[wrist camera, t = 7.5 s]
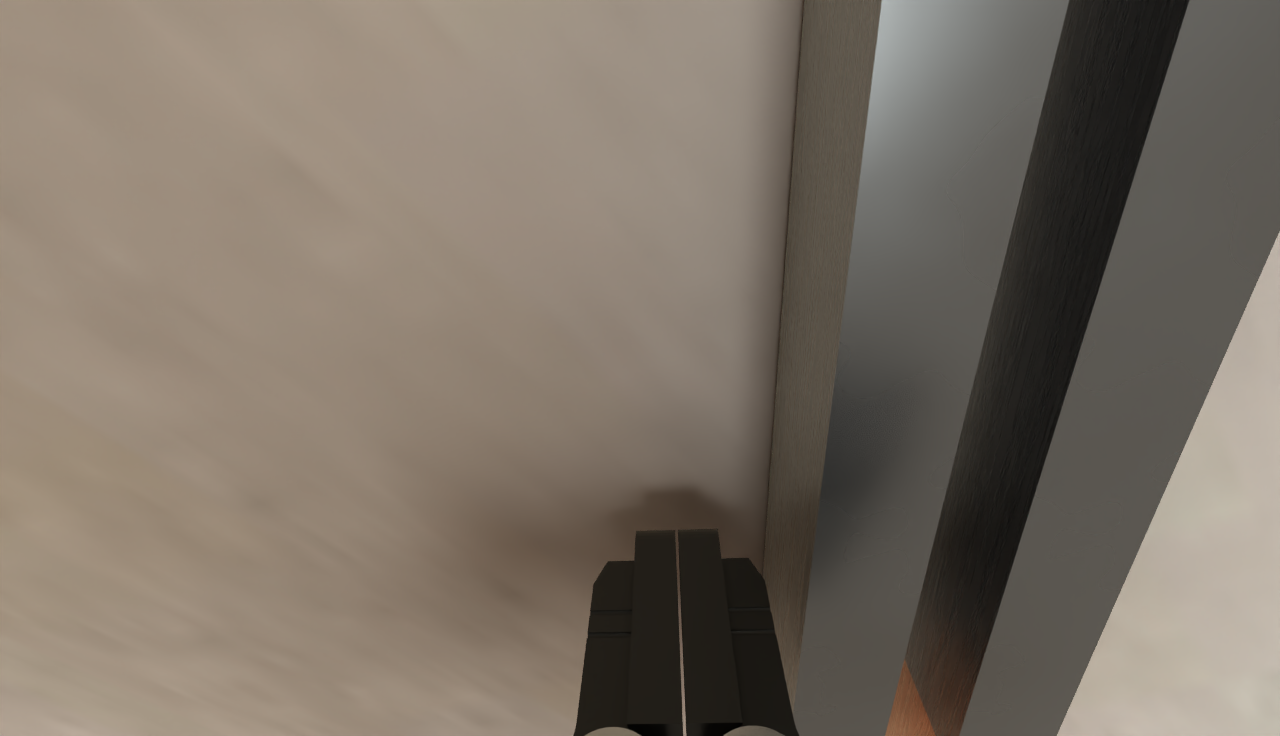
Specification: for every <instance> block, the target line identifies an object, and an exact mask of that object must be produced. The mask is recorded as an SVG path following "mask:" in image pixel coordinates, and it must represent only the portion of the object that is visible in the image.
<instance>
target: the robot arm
mask: <svg viewBox="0 0 1280 736" xmlns="http://www.w3.org/2000/svg"><path fill="white" fill-rule="evenodd" d="M678 542H679V568H680V595H681V619H682V642H683V665H684V688H685V711H686V734H687V736H799V734H798V731H797V729H796V726H795V722H794V718H793V713H792V709H791V704H790V699H789V694H788V689H787V684H786V680H785V675H784V670H783V665H782V660H781V656H780V651H779V646H778V641H777V636H776V635H775V627H774V622H773V617H772V612H771V610H770V603H769V598H768V593H767V588H766V583H765V580H764V578H763V577H762V576H761V574H760V573H759V572H758V570H757V569H756V568H755V566H754V565H753V564H752V562H751V561H750V559H749V558H726V559H721V552H720V544H719V537H718V531H717V529H695V530H678ZM590 611H591V614H590V618H589V626H588V638H587V643H586V651H585V659H584V667H583V675H582V683H581V692H580V700H579V708H578V716H577V724H576V729H575V733H574V736H683V722H682V696H681V670H680V643H679V617H678V591H677V567H676V542H675V530H663V531H636V539H635V560H634V561H608V562H607V564H606V565H605V567H604V569H603V570H602V572H601V573H600V575H599V576H598V578H597V580H596V581H595V583H594V585H593V594H592V602H591V610H590Z"/></svg>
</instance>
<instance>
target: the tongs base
mask: <svg viewBox="0 0 1280 736" xmlns="http://www.w3.org/2000/svg"><path fill="white" fill-rule="evenodd" d="M1279 231H1280V0H1069V3H1068V7H1067V11H1066V15H1065V19H1064V23H1063V27H1062V31H1061V35H1060V39H1059V43H1058V47H1057V51H1056V55H1055V59H1054V63H1053V67H1052V71H1051V75H1050V79H1049V83H1048V87H1047V91H1046V95H1045V99H1044V103H1043V107H1042V111H1041V115H1040V119H1039V123H1038V127H1037V131H1036V135H1035V139H1034V143H1033V147H1032V151H1031V155H1030V159H1029V163H1028V167H1027V171H1026V175H1025V179H1024V183H1023V187H1022V191H1021V195H1020V199H1019V203H1018V207H1017V211H1016V215H1015V219H1014V223H1013V227H1012V231H1011V235H1010V239H1009V243H1008V247H1007V251H1006V255H1005V259H1004V263H1003V267H1002V271H1001V275H1000V279H999V283H998V287H997V291H996V295H995V299H994V303H993V307H992V311H991V315H990V319H989V323H988V327H987V331H986V335H985V339H984V343H983V347H982V351H981V355H980V359H979V363H978V367H977V371H976V375H975V379H974V383H973V387H972V391H971V395H970V399H969V403H968V407H967V411H966V415H965V419H964V423H963V427H962V431H961V435H960V439H959V443H958V447H957V451H956V455H955V459H954V463H953V467H952V471H951V475H950V479H949V483H948V487H947V490H946V494H945V498H944V502H943V506H942V510H941V514H940V518H939V522H938V526H937V530H936V534H935V538H934V542H933V546H932V550H931V554H930V558H929V562H928V566H927V570H926V574H925V578H924V582H923V586H922V590H921V594H920V598H919V602H918V606H917V610H916V614H915V618H914V622H913V626H912V630H911V634H910V638H909V642H908V646H907V650H906V654H905V658H904V662H903V666H902V670H901V674H900V678H899V682H898V686H897V690H896V694H895V698H894V702H893V706H892V710H891V714H890V718H889V722H888V726H887V730H886V734H885V736H1057V733H1058V731H1059V729H1060V727H1061V724H1062V722H1063V720H1064V718H1065V715H1066V713H1067V711H1068V709H1069V706H1070V704H1071V702H1072V699H1073V697H1074V695H1075V693H1076V690H1077V688H1078V686H1079V684H1080V681H1081V679H1082V677H1083V675H1084V672H1085V670H1086V668H1087V666H1088V663H1089V661H1090V659H1091V656H1092V654H1093V652H1094V650H1095V647H1096V645H1097V643H1098V641H1099V638H1100V636H1101V634H1102V632H1103V629H1104V627H1105V625H1106V623H1107V620H1108V618H1109V616H1110V613H1111V611H1112V609H1113V607H1114V604H1115V602H1116V600H1117V598H1118V595H1119V593H1120V591H1121V589H1122V586H1123V584H1124V582H1125V580H1126V577H1127V575H1128V573H1129V570H1130V568H1131V566H1132V564H1133V561H1134V559H1135V557H1136V555H1137V552H1138V550H1139V548H1140V546H1141V543H1142V541H1143V539H1144V537H1145V534H1146V532H1147V530H1148V527H1149V525H1150V523H1151V521H1152V518H1153V516H1154V514H1155V512H1156V509H1157V507H1158V505H1159V503H1160V500H1161V498H1162V496H1163V494H1164V491H1165V489H1166V487H1167V485H1168V482H1169V480H1170V478H1171V475H1172V473H1173V471H1174V469H1175V466H1176V464H1177V462H1178V460H1179V457H1180V455H1181V453H1182V451H1183V448H1184V446H1185V444H1186V442H1187V439H1188V437H1189V435H1190V432H1191V430H1192V428H1193V426H1194V423H1195V421H1196V419H1197V417H1198V414H1199V412H1200V410H1201V408H1202V405H1203V403H1204V401H1205V399H1206V396H1207V394H1208V392H1209V389H1210V387H1211V385H1212V383H1213V380H1214V378H1215V376H1216V374H1217V371H1218V369H1219V367H1220V365H1221V362H1222V360H1223V358H1224V356H1225V353H1226V351H1227V349H1228V346H1229V344H1230V342H1231V340H1232V337H1233V335H1234V333H1235V331H1236V328H1237V326H1238V324H1239V322H1240V319H1241V317H1242V315H1243V313H1244V310H1245V308H1246V306H1247V303H1248V301H1249V299H1250V297H1251V294H1252V292H1253V290H1254V288H1255V285H1256V283H1257V281H1258V279H1259V276H1260V274H1261V272H1262V270H1263V267H1264V265H1265V263H1266V260H1267V258H1268V256H1269V254H1270V251H1271V249H1272V247H1273V245H1274V242H1275V240H1276V238H1277V236H1278V233H1279Z"/></svg>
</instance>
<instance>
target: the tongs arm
mask: <svg viewBox="0 0 1280 736" xmlns="http://www.w3.org/2000/svg"><path fill="white" fill-rule="evenodd" d="M1068 3H1069V0H804V12H803V26H802V40H801V53H800V67H799V81H798V95H797V109H796V123H795V136H794V150H793V164H792V178H791V192H790V205H789V219H788V233H787V247H786V261H785V275H784V288H783V302H782V316H781V330H780V344H779V358H778V371H777V385H776V399H775V413H774V427H773V440H772V454H771V468H770V482H769V496H768V510H767V523H766V537H765V551H764V565H763V578H764V580H765V583H766V588H767V593H768V598H769V603H770V610H771V612H772V617H773V622H774V627H775V635H776V636H777V641H778V646H779V651H780V656H781V660H782V665H783V670H784V675H785V680H786V684H787V689H788V694H789V699H790V704H791V709H792V713H793V718H794V722H795V726H796V729H797V731H798V734H799V736H885V734H886V730H887V726H888V722H889V718H890V714H891V710H892V706H893V702H894V698H895V694H896V690H897V686H898V682H899V678H900V674H901V670H902V666H903V662H904V658H905V654H906V650H907V646H908V642H909V638H910V634H911V630H912V626H913V622H914V618H915V614H916V610H917V606H918V602H919V598H920V594H921V590H922V586H923V582H924V578H925V574H926V570H927V566H928V562H929V558H930V554H931V550H932V546H933V542H934V538H935V534H936V530H937V526H938V522H939V518H940V514H941V510H942V506H943V502H944V498H945V494H946V490H947V487H948V483H949V479H950V475H951V471H952V467H953V463H954V459H955V455H956V451H957V447H958V443H959V439H960V435H961V431H962V427H963V423H964V419H965V415H966V411H967V407H968V403H969V399H970V395H971V391H972V387H973V383H974V379H975V375H976V371H977V367H978V363H979V359H980V355H981V351H982V347H983V343H984V339H985V335H986V331H987V327H988V323H989V319H990V315H991V311H992V307H993V303H994V299H995V295H996V291H997V287H998V283H999V279H1000V275H1001V271H1002V267H1003V263H1004V259H1005V255H1006V251H1007V247H1008V243H1009V239H1010V235H1011V231H1012V227H1013V223H1014V219H1015V215H1016V211H1017V207H1018V203H1019V199H1020V195H1021V191H1022V187H1023V183H1024V179H1025V175H1026V171H1027V167H1028V163H1029V159H1030V155H1031V151H1032V147H1033V143H1034V139H1035V135H1036V131H1037V127H1038V123H1039V119H1040V115H1041V111H1042V107H1043V103H1044V99H1045V95H1046V91H1047V87H1048V83H1049V79H1050V75H1051V71H1052V67H1053V63H1054V59H1055V55H1056V51H1057V47H1058V43H1059V39H1060V35H1061V31H1062V27H1063V23H1064V19H1065V15H1066V11H1067V7H1068Z"/></svg>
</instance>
